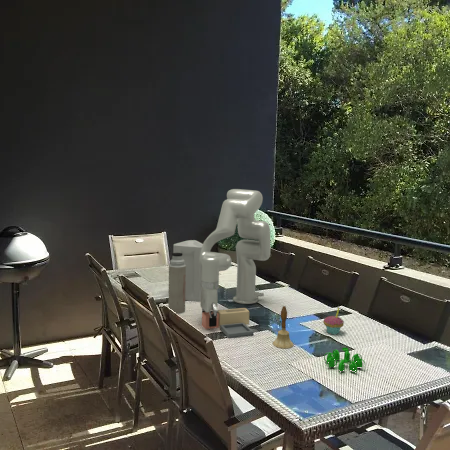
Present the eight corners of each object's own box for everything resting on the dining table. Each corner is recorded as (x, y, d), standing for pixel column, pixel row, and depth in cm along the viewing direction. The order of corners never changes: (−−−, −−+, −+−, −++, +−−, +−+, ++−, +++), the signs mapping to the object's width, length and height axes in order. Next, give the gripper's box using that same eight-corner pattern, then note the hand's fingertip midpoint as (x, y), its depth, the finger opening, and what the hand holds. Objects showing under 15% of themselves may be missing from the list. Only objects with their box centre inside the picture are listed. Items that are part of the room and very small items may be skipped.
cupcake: (344, 330, 221) (345, 304, 219) (341, 337, 213) (343, 309, 211) (324, 327, 224) (325, 301, 222) (321, 334, 216) (322, 307, 214)
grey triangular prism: (168, 293, 269) (168, 241, 265) (194, 290, 275) (195, 240, 270) (179, 303, 252) (179, 248, 247) (207, 300, 257) (208, 247, 253)
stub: (214, 323, 225) (215, 310, 224) (218, 327, 220) (218, 314, 219) (201, 325, 223) (202, 311, 222) (205, 329, 218) (205, 315, 217)
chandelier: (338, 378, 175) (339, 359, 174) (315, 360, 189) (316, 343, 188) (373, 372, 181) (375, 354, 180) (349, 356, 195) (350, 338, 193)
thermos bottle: (187, 309, 244) (188, 252, 240) (182, 314, 236) (183, 255, 232) (171, 307, 245) (171, 251, 241) (166, 312, 238) (166, 254, 233)
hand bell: (280, 350, 198) (281, 310, 195) (268, 342, 205) (270, 304, 202) (297, 346, 202) (299, 308, 199) (285, 339, 209) (287, 302, 206)
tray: (243, 326, 222) (243, 322, 222) (253, 335, 212) (253, 331, 212) (219, 329, 218) (219, 325, 218) (228, 338, 208) (229, 334, 208)
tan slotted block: (244, 320, 230) (245, 307, 229) (248, 324, 225) (249, 311, 224) (215, 323, 225) (215, 310, 224) (219, 327, 220) (219, 313, 220)
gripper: (195, 280, 225) (194, 317, 228) (208, 290, 209) (207, 330, 212) (211, 279, 228) (210, 315, 230) (225, 289, 212) (223, 328, 214)
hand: (209, 322), depth 221 cm, fingers open, 9 cm apart
